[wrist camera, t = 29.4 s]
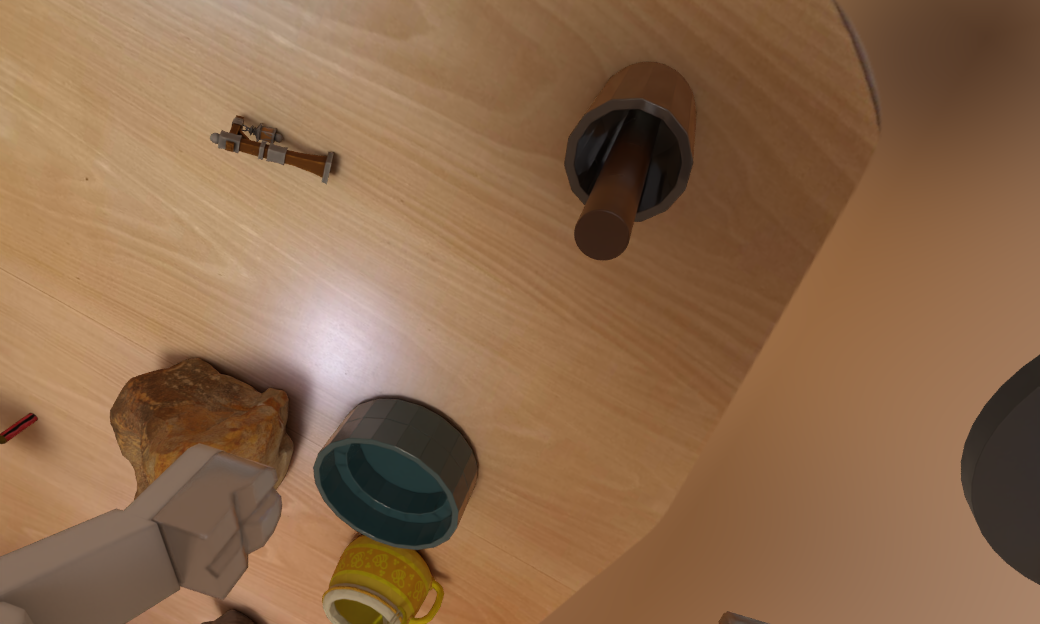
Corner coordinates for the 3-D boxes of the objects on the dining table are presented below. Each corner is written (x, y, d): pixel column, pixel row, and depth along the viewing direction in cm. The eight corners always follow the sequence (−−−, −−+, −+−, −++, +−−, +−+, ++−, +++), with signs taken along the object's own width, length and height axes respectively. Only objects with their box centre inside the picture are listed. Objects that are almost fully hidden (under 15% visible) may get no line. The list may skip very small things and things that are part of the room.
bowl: (485, 418, 54) (462, 466, 49) (473, 516, 62) (453, 566, 57) (342, 378, 56) (307, 420, 51) (349, 478, 64) (319, 523, 59)
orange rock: (197, 283, 56) (38, 374, 44) (339, 390, 56) (219, 509, 44) (162, 413, 70) (34, 509, 57) (276, 498, 70) (172, 611, 58)
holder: (708, 69, 34) (708, 110, 26) (680, 170, 38) (672, 234, 30) (607, 52, 35) (576, 86, 27) (588, 152, 39) (556, 209, 31)
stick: (665, 101, 35) (635, 216, 21) (657, 134, 36) (622, 266, 22) (632, 95, 36) (579, 204, 21) (625, 128, 37) (570, 254, 22)
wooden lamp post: (224, 103, 43) (207, 130, 39) (337, 136, 46) (331, 164, 42) (222, 126, 44) (206, 154, 41) (333, 157, 47) (326, 186, 43)
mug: (354, 571, 74) (299, 669, 64) (348, 515, 68) (287, 613, 58) (450, 603, 72) (409, 708, 62) (454, 548, 65) (409, 655, 56)
